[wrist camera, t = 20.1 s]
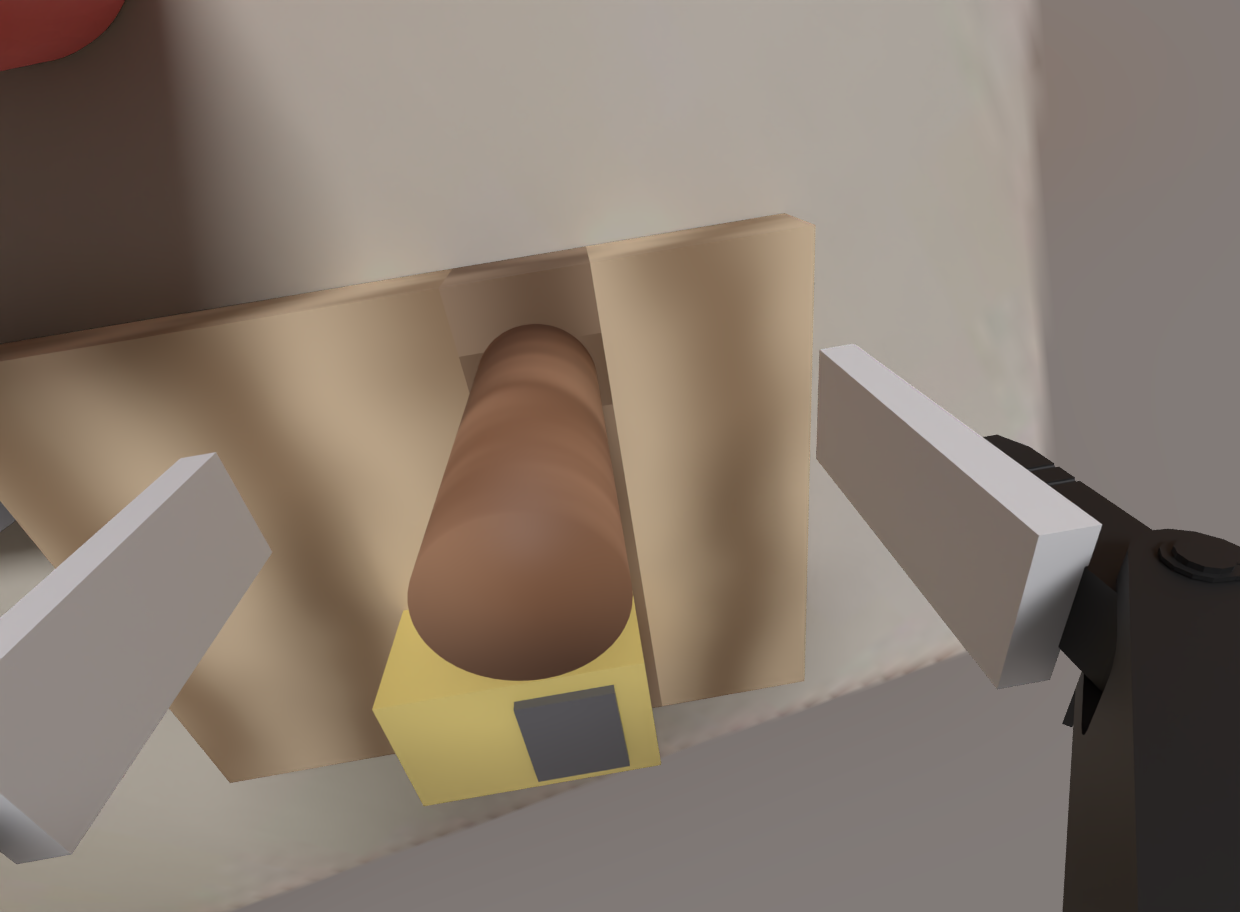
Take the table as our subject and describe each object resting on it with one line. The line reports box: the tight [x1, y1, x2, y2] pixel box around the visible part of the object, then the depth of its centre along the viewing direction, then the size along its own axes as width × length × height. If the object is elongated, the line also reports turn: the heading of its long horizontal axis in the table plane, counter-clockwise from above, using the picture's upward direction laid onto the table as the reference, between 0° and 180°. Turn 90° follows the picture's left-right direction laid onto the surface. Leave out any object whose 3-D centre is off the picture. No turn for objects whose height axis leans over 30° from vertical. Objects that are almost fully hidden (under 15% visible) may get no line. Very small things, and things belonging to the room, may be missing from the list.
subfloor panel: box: [0, 213, 815, 783], centre depth 21 cm, size 24×18×2 cm
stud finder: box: [372, 591, 661, 806], centre depth 20 cm, size 8×5×4 cm, turn 98°
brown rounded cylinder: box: [407, 324, 633, 681], centre depth 14 cm, size 3×3×11 cm
